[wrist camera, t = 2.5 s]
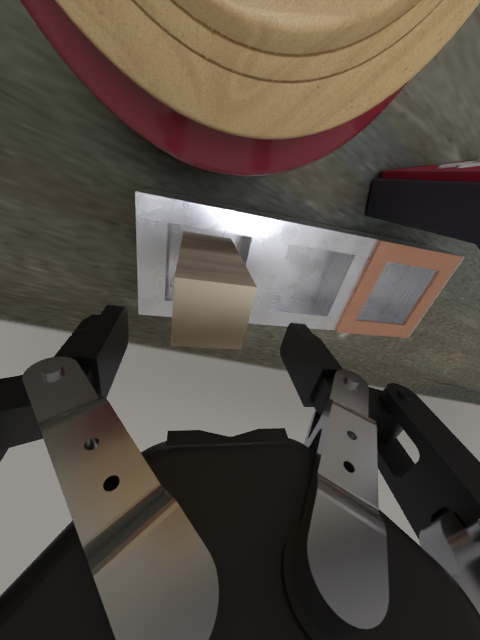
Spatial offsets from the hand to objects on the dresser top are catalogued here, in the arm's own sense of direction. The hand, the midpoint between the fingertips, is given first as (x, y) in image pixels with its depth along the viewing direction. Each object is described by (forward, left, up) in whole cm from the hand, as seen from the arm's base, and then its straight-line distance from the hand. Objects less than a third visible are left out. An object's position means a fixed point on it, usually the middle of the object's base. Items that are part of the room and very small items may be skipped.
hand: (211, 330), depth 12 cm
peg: (0, 0, -11) cm, 11 cm away
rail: (0, +9, -12) cm, 15 cm away
